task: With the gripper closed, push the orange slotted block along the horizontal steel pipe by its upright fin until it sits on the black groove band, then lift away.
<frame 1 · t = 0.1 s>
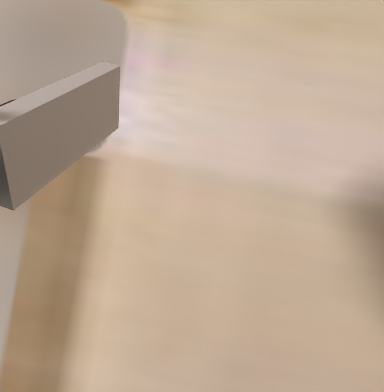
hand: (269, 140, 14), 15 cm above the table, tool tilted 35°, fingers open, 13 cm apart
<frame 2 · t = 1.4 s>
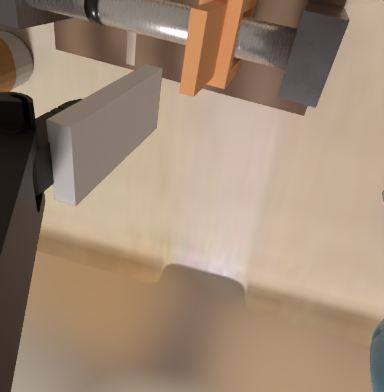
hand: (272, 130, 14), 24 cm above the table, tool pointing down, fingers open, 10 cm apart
coffee cup: (14, 57, 45), on the table
orange slotted block: (216, 39, 26), point 11 cm above the table, slide at -6.0 cm
pipe: (163, 14, 30), on the base board, point 6 cm above the table
base board: (185, 7, 35), on the table
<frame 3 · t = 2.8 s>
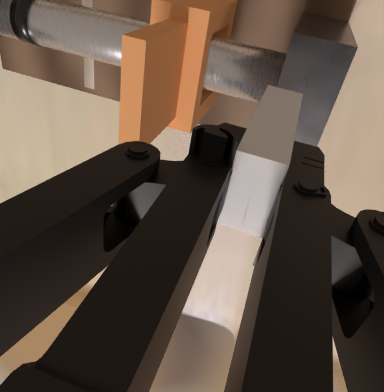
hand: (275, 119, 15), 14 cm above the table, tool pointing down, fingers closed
orange slotted block: (177, 68, 19), point 10 cm above the table, slide at -6.0 cm
pipe: (117, 31, 24), on the base board, point 6 cm above the table
base board: (152, 20, 28), on the table
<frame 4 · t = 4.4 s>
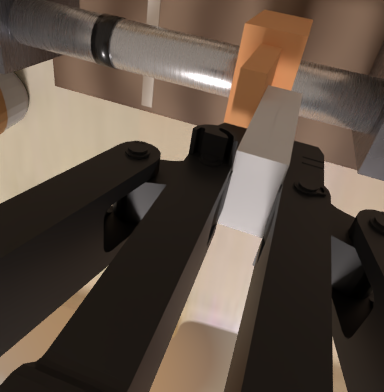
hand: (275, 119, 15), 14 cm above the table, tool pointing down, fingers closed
coffee cup: (6, 91, 38), on the table
orange slotted block: (260, 92, 19), point 10 cm above the table, slide at -5.2 cm, touching gripper
pipe: (194, 53, 23), on the base board, point 6 cm above the table
base board: (217, 38, 28), on the table
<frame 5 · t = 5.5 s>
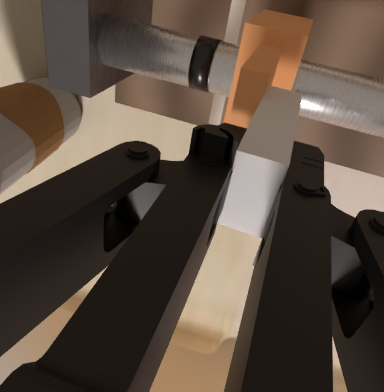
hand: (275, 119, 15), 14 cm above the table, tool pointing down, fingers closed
coffee cup: (58, 106, 36), on the table
orange slotted block: (260, 92, 19), point 11 cm above the table, slide at 1.2 cm, touching gripper
pipe: (290, 76, 22), on the base board, point 6 cm above the table
base board: (296, 56, 27), on the table
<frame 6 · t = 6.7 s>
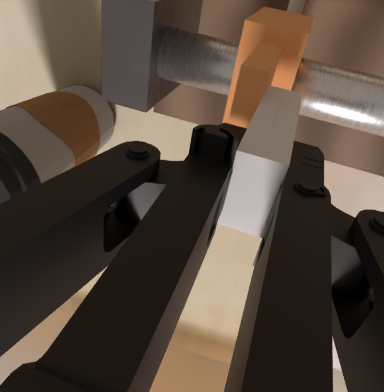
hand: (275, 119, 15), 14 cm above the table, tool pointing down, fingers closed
coffee cup: (89, 114, 36), on the table
orange slotted block: (260, 90, 18), point 11 cm above the table, slide at 5.2 cm, touching gripper
pipe: (354, 90, 21), on the base board, point 6 cm above the table
base board: (349, 67, 26), on the table
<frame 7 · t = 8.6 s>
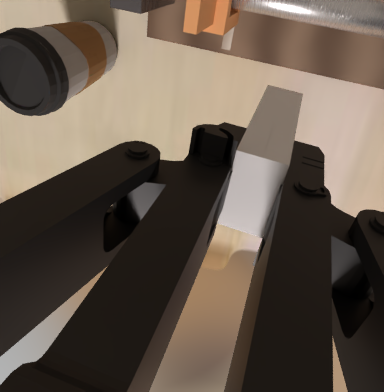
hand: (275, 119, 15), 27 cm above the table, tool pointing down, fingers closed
coffee cup: (97, 46, 45), on the table
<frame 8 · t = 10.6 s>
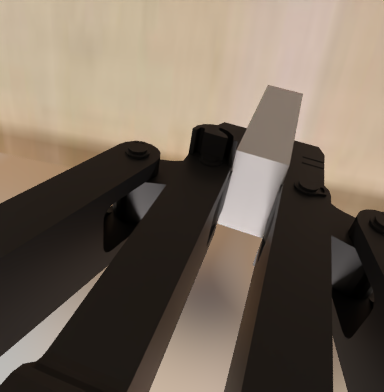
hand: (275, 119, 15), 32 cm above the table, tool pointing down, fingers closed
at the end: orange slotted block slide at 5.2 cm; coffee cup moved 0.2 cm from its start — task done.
